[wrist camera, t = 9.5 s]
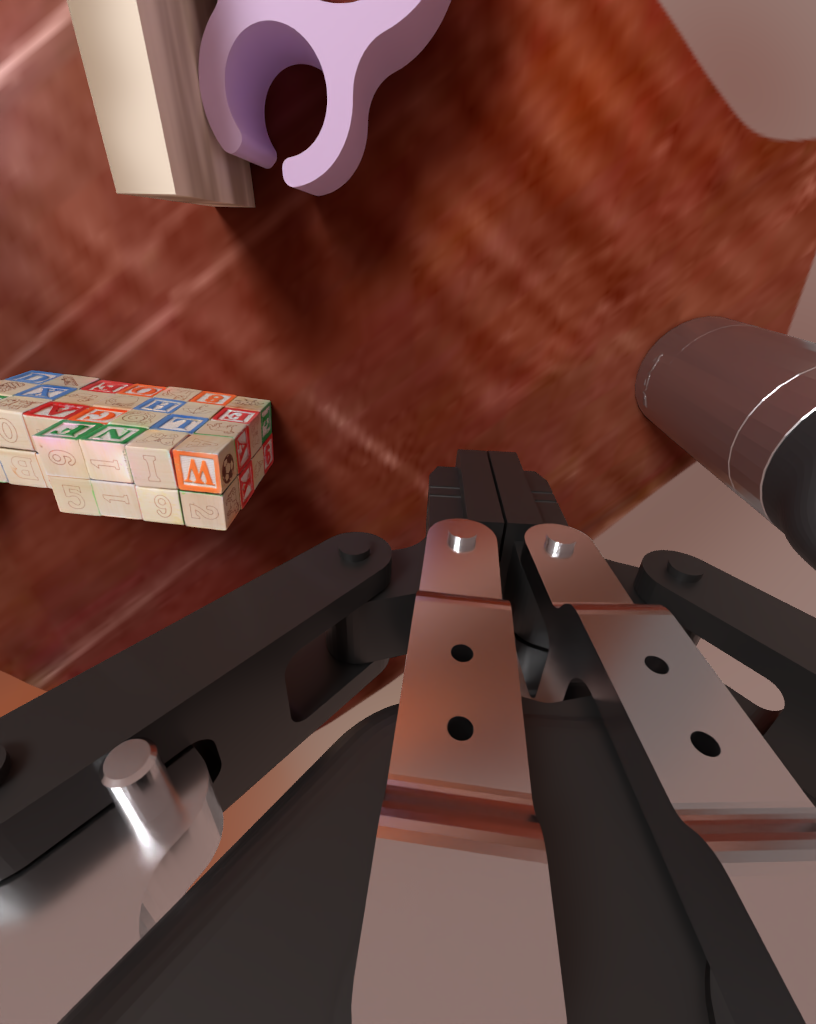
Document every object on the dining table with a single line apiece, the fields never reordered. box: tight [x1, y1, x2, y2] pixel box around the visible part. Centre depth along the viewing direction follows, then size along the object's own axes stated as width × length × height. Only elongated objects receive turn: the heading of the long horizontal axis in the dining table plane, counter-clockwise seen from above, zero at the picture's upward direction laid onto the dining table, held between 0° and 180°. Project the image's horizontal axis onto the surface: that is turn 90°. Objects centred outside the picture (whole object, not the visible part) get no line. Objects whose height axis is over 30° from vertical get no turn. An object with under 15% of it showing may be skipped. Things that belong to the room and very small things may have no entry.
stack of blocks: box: [0, 371, 274, 530], centre depth 36 cm, size 21×6×12 cm, turn 83°
